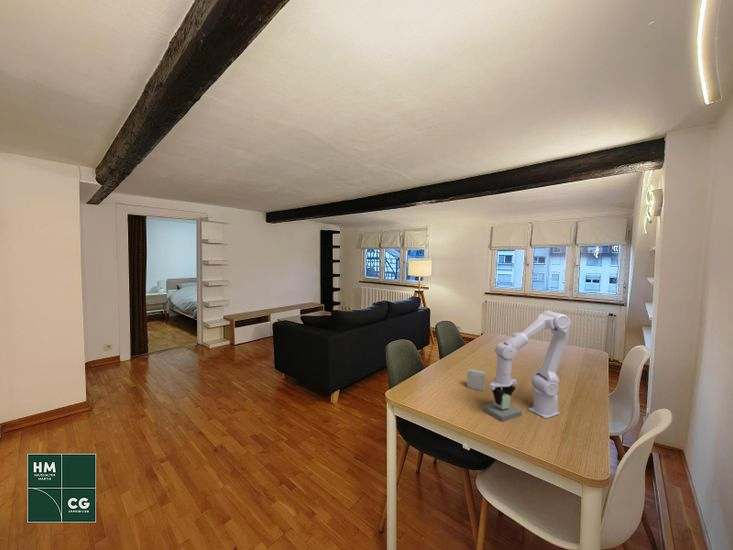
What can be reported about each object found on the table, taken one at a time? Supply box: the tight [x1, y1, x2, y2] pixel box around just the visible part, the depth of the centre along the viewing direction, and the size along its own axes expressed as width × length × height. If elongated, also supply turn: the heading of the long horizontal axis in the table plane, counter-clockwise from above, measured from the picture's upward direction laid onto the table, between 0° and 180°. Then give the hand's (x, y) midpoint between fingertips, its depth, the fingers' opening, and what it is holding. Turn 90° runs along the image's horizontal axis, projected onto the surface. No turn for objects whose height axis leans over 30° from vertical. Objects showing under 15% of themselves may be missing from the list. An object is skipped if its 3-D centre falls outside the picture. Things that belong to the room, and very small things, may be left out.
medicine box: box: [466, 368, 486, 392], centre depth 146 cm, size 8×4×9 cm, turn 59°
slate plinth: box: [481, 401, 523, 422], centre depth 123 cm, size 12×10×2 cm
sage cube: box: [493, 393, 511, 410], centre depth 122 cm, size 4×4×5 cm
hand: (502, 402), depth 122 cm, fingers closed on sage cube, 4 cm apart
